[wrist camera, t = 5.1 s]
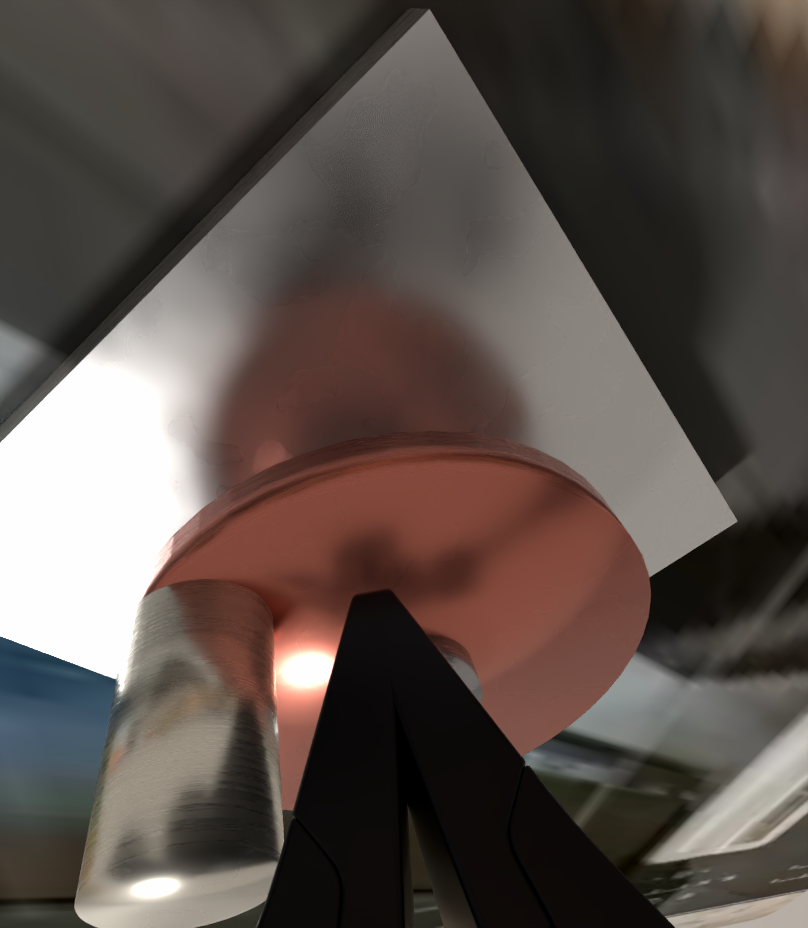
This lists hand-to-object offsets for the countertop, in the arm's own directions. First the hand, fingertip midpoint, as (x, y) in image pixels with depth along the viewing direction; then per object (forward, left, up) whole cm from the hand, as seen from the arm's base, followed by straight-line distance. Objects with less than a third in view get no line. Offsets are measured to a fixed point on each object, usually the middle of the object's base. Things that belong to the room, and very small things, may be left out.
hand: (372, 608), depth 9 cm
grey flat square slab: (-4, +2, -7) cm, 8 cm away
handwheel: (-3, +2, -2) cm, 5 cm away
